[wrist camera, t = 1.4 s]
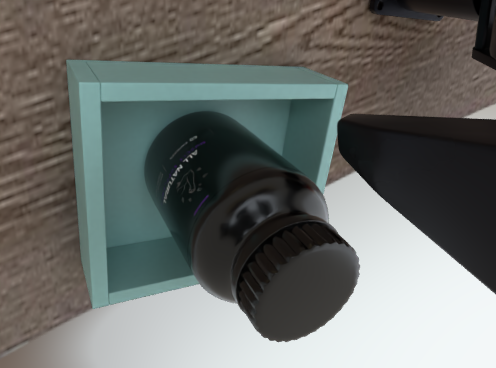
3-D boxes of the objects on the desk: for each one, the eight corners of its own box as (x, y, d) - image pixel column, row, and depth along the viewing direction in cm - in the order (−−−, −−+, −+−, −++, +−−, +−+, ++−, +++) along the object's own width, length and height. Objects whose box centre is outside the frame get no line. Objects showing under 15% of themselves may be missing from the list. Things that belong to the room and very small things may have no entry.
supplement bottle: (133, 115, 21) (231, 242, 12) (249, 101, 24) (400, 194, 15) (145, 224, 25) (228, 388, 15) (246, 200, 27) (367, 327, 18)
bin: (304, 66, 25) (349, 84, 22) (276, 225, 30) (309, 258, 27) (66, 59, 19) (78, 82, 16) (81, 260, 24) (92, 309, 21)
